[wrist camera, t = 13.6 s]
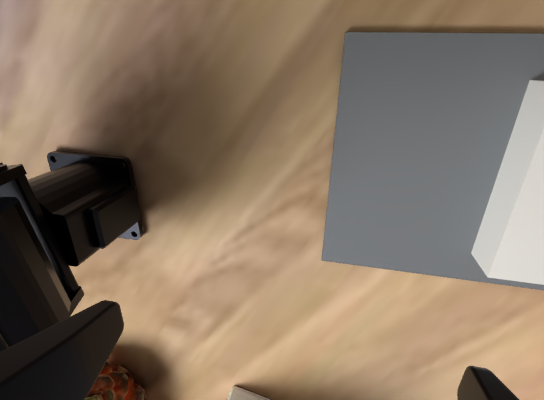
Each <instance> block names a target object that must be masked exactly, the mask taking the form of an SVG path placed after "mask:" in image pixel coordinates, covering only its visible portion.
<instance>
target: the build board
mask: <svg viewBox="0 0 544 400" xmlns="http://www.w3.org/2000/svg"><path fill="white" fill-rule="evenodd" d="M322 261H329V262H336V263H343V264H351V265H358V266H366V267H373V268H381V269H388V270H396V271H403V272H411V273H418V274H426V275H433V276H441V277H448V278H456V279H463V280H470V281H478V282H485V283H493V284H500V285H508V286H515V287H523V288H530V289H538V290H544V34H540V33H397V32H345V41H344V50H343V60H342V69H341V79H340V88H339V98H338V108H337V117H336V127H335V136H334V146H333V155H332V165H331V175H330V184H329V194H328V203H327V213H326V222H325V232H324V242H323V251H322Z"/></svg>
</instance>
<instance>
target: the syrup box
mask: <svg viewBox="0 0 544 400" xmlns="http://www.w3.org/2000/svg"><path fill="white" fill-rule="evenodd" d="M227 400H270V399H268V398H265V397H263V396H260V395H258V394H255V393H253V392H250V391H247V390H245V389H242V388H239V387H237V386H233V388H232V390H231V392H230V394H229V396H228V398H227Z"/></svg>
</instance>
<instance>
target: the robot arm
mask: <svg viewBox="0 0 544 400" xmlns="http://www.w3.org/2000/svg"><path fill="white" fill-rule="evenodd" d="M55 158H56V159H55ZM47 159H48V163H49V166H50V170H51V171H50V172H47V173H45V174H42V175H39V176H37V177H34V178H31V179H29V180H27V178H26V176H25V174H27V173H26V171H25V169H24V167H23V165H22V164H19V165H11V166H7V165H3V163H0V400H84V399H85V397H86V396H87V394H88V393H89V391H90V390H91V388H92V386H93V385H94V383H95V381H96V379H97V378H98V376H99V374H100V372H101V370H102V369H103V367H104V365H105V363H106V361H107V359H108V358H109V356H110V354H111V352H112V350H113V348H114V347H115V345H116V343H117V341H118V339H119V337H120V335H121V334H122V331H123V328H124V322H123V318H122V313H121V309H120V305H119V304H118V303H117V302H113V301H107V300H104V301H101V302H99V303H97V304H95V305H93V306H91V307H89V308H87V309H85V310H83V311H81V312H79V313H77V314H75V315H73V316H71V317H70V315H71V314H72V312H73V311H74V309H75V308H76V306H77V305H78V303H79V302H80V300H81V299H82V297H83V296H84V292H83V290H82V288H81V286H78V284H77V282H76V280H75V277H74V275H73V273H72V271H71V269H70V267H69V266H78V265H80V264H81V263H82V262H83V261H85V260H86V259H87V258H89V257H90V256H91V255H92V254H94V253H95V252H96V251H98V250H99V249H100V248H101V249H103V248H105V247H107V246H108V245H109V244H110V243H112V242H113V241H114V240H115V239H117V238H125V239H133V240H138V239H139V238H140V237H142V235H143V229H142V223H141V216H140V210H139V204H138V198H137V192H136V188H135V183H134V177H133V171H132V165H131V162H130V160H129V159H128V158H126V157H119V156H108V155H96V154H85V153H73V152H61V151H53V152H50V153H48V155H47ZM122 163H124V165H125V167H124V166H123V165H122ZM135 232H136V233H137V234H136V233H135ZM457 396H458V400H519V399H518V398H517V397H516V396H515V395H514V394H513V393H512V392H511V391H510V390H509V389H508V388H507V387H506V386H505V385H504V384H503V383H502V382H501V381H500V380H499V379H498V378H497V377H496V376H495V375H494V374H493V373H492V372H491V371H490V370H488V369H486V368H481V367H475V366H468V367H467V368H466V370H465V372H464V375H463V377H462V380H461V382H460V385H459V387H458V393H457Z"/></svg>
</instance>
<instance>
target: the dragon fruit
mask: <svg viewBox="0 0 544 400" xmlns="http://www.w3.org/2000/svg"><path fill="white" fill-rule="evenodd" d="M133 381H134V379H133V376H132V374H131V373H129V371H128V370H127V369H125V368H124V367H122V366H121V365H119V364H118V365H114V366H110V365H109V364H108V362H106V363H105V365H104V367H103V369H102V370H101V372H100V374H99V376H98V378H97V379H96V381H95V383H94V385H93V386H92V388H91V390H90V391H89V393H88V394H87V396H86V397H85V399H84V400H147V399H148V397H147V394H146V392H145V389H144V387H142V386H140V385H136V384H133Z"/></svg>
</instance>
